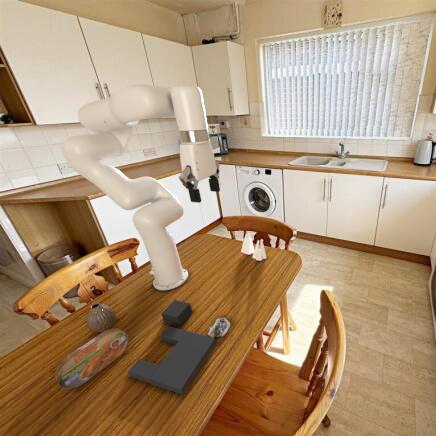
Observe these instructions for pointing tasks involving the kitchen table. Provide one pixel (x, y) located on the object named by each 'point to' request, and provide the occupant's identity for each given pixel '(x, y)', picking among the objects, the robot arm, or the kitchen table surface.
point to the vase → (100, 317)
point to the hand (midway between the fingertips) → (206, 196)
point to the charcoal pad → (176, 361)
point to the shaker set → (249, 248)
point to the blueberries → (219, 328)
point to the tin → (91, 358)
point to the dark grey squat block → (176, 313)
